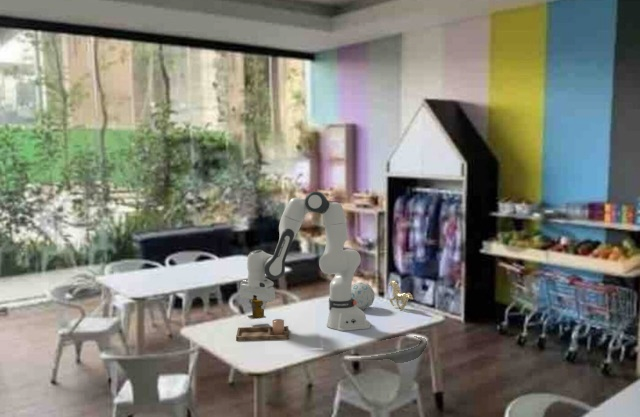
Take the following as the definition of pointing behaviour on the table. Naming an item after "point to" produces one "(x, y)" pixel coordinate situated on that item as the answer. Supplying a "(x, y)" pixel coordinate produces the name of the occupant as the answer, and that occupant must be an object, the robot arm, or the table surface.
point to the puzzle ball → (362, 295)
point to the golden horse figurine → (399, 295)
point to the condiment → (256, 309)
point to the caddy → (260, 333)
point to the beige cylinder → (278, 327)
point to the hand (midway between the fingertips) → (257, 308)
